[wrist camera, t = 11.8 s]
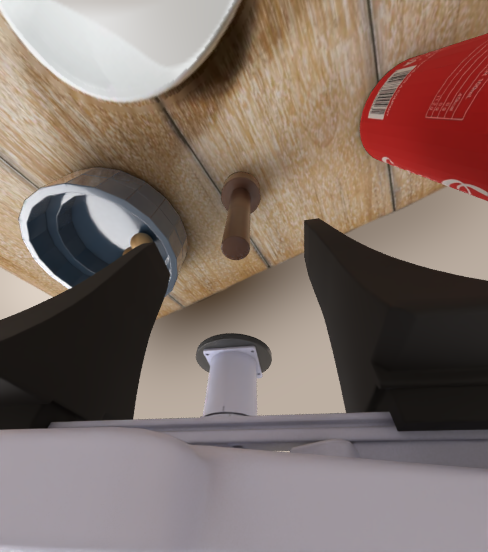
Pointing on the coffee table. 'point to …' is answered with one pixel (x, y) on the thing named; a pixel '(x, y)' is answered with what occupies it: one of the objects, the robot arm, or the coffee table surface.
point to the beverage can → (434, 116)
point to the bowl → (98, 224)
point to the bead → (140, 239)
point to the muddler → (239, 213)
